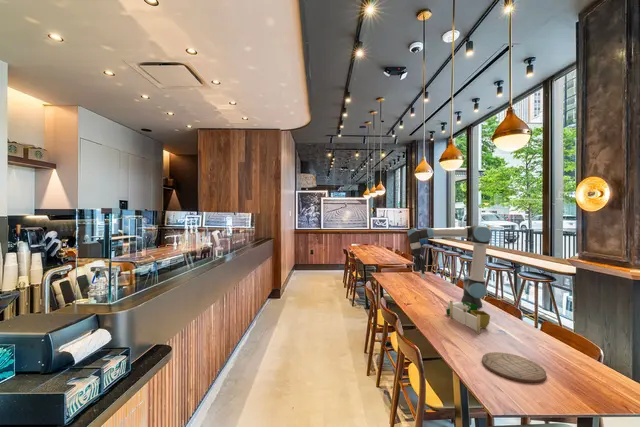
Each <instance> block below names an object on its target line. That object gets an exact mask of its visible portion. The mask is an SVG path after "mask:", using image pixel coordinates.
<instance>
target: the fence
mask: <svg viewBox="0 0 640 427" xmlns="http://www.w3.org/2000/svg"><path fill="white" fill-rule="evenodd" d="M449 302H450V315H449V318H450V319H453V320H454V318H453V302H454V301H453V300H449ZM464 309H466V312H467V308H464ZM463 325H464V326H467V327H469V328H470V329H472V330H473V331H475V332H476V334H478V335H480V334H481V328H480V315H477V317H475V316H473V315H471V314H469V313H466V325H465V324H463Z"/></svg>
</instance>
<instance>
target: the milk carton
mask: <svg viewBox="0 0 640 427" xmlns="http://www.w3.org/2000/svg"><path fill="white" fill-rule="evenodd" d="M453 306H455V307H457V308H459V309H461V310H463V309H464V308H467V313H469V314H471V311H470V310H473V311H479V310H478V309H479V308H477V305H476V304H473V303H468V302H461V301H456V302H454V301H453ZM445 312H446V314H447V315H448V316H450V301H449V302H447V308H446V310H445Z"/></svg>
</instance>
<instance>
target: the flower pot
mask: <svg viewBox="0 0 640 427" xmlns="http://www.w3.org/2000/svg"><path fill="white" fill-rule="evenodd" d="M470 311H471V315H473V316H475V317H477V315H480V329H486V328H487V327H488V325H489V323H490V319H491V315H490V314H489V313H487V312H486V311H484V310H478V311H473V310H470Z"/></svg>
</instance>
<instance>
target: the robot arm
mask: <svg viewBox="0 0 640 427" xmlns="http://www.w3.org/2000/svg"><path fill="white" fill-rule="evenodd" d="M492 236H493V232H492V230H491V229H490V228H489V227H488V226H486V225H480V224H479V225H477V224H476V225H469V226H464V227H438V228H437V227H435V228H432V227H428V228H425V227H424V228H421V229H420V230H417V228H411V229H408V230H407V238H408V242H409V244H410V245H409V246H410V248H411V253H412V254H413V255H414V257H413V261H414V263H415V266H416V269H417V270H418V271H419V274H420V277H421V279H423V280H424V279H427V277H426V273H425V269H426V264H425V256H424V255H423V254H422V253H423V250H422V245H421V242H420V241H421V240H426V239H431V238H465V239H471V244H472V245H473V250H472V258H471V259H472V260H471V267H470V268H471V270H470V271H471V272H470V276H468V275H467V276H464V277H463V279H462V282H463V294H462V298H461V301H460V302H468V303H473V304H476V305H477V308H478V309H481V308H483V303H482V302H483V301H482V298H484V297H485V296H486V295H487V293H488V292H487V287H486V282H487V281H486V279H485V278H484V277H485V267H486V266H485V265H486V256H487V247H488V246H489V245H490V240H491V239H492Z"/></svg>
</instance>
